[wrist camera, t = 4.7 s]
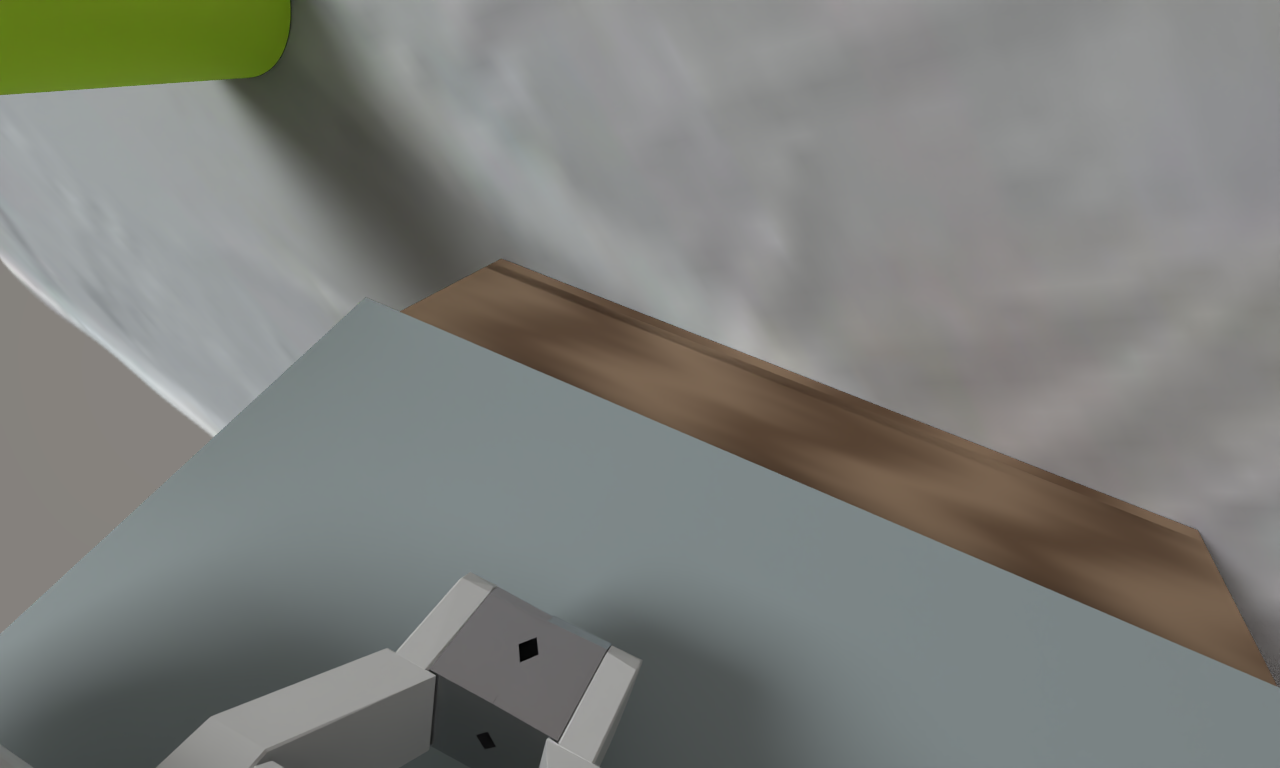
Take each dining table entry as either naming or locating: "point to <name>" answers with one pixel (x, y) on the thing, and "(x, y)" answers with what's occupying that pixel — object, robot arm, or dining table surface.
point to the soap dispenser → (136, 42)
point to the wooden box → (861, 456)
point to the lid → (584, 589)
